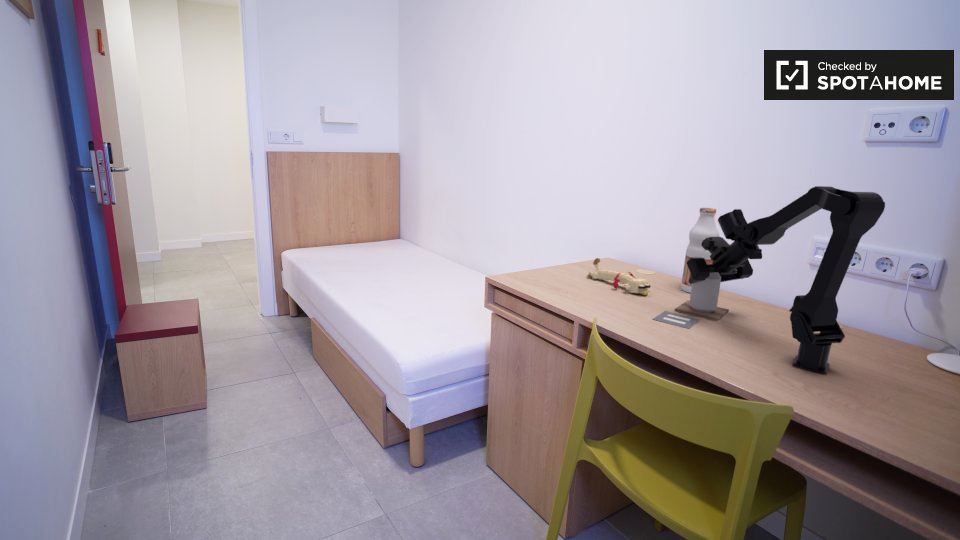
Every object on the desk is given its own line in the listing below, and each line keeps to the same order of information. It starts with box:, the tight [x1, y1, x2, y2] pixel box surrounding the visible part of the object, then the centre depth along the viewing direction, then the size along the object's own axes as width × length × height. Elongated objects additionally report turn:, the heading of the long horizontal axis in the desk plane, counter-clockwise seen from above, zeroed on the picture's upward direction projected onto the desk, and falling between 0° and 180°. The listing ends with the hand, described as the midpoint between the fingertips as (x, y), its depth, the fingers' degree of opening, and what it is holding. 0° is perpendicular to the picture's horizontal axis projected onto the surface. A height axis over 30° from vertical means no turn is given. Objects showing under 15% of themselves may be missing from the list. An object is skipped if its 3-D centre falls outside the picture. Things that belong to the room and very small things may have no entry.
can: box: [689, 273, 722, 313], centre depth 144 cm, size 8×8×12 cm
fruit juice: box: [680, 207, 720, 294], centre depth 163 cm, size 9×9×28 cm
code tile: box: [652, 310, 701, 329], centre depth 138 cm, size 10×10×1 cm
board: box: [673, 299, 729, 322], centre depth 146 cm, size 12×12×1 cm
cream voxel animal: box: [586, 257, 651, 296], centre depth 168 cm, size 10×9×25 cm
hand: (702, 281), depth 145 cm, fingers open, 9 cm apart
